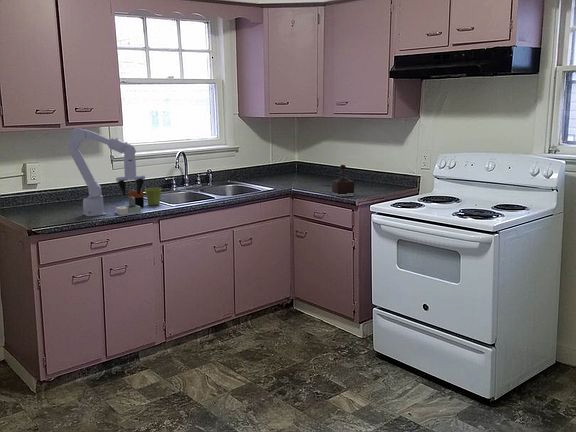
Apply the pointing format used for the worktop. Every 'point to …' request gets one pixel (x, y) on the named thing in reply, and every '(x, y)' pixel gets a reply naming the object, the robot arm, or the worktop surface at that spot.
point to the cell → (131, 202)
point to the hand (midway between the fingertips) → (131, 194)
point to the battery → (137, 197)
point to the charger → (128, 210)
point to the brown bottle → (342, 183)
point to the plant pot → (153, 195)
